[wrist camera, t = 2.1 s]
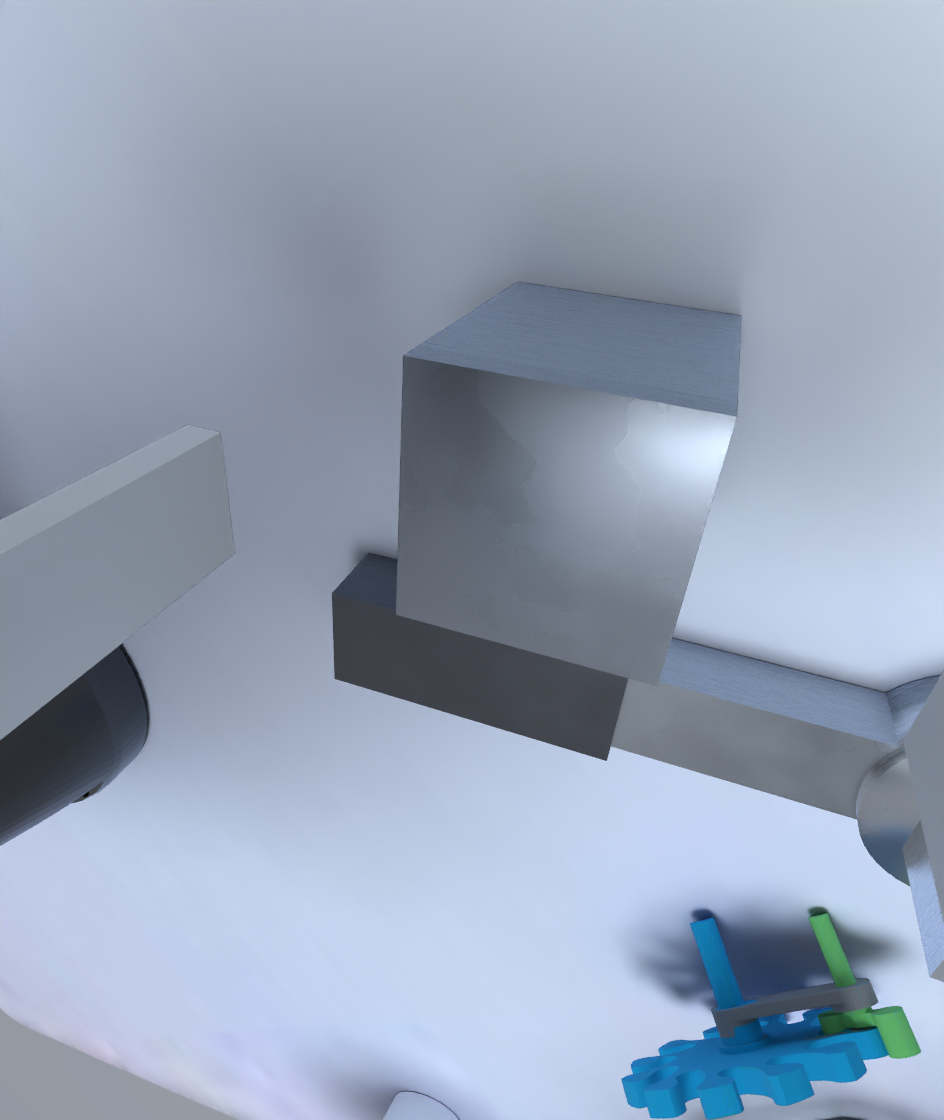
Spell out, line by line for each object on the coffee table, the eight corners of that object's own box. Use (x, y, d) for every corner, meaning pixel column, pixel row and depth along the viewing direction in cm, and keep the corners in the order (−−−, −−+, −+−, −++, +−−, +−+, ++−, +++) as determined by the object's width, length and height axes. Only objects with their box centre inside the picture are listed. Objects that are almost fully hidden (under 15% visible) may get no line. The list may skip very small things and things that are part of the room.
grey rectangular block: (496, 477, 23) (396, 614, 16) (517, 281, 20) (403, 355, 13) (685, 519, 22) (657, 686, 15) (741, 315, 18) (737, 417, 12)
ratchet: (368, 659, 29) (274, 789, 23) (368, 522, 25) (258, 634, 20) (1024, 851, 23) (1112, 1081, 18) (1136, 710, 20) (1290, 938, 14)
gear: (678, 1066, 33) (593, 1156, 25) (635, 927, 36) (545, 968, 28) (932, 1028, 29) (928, 1121, 21) (862, 873, 31) (834, 902, 23)
